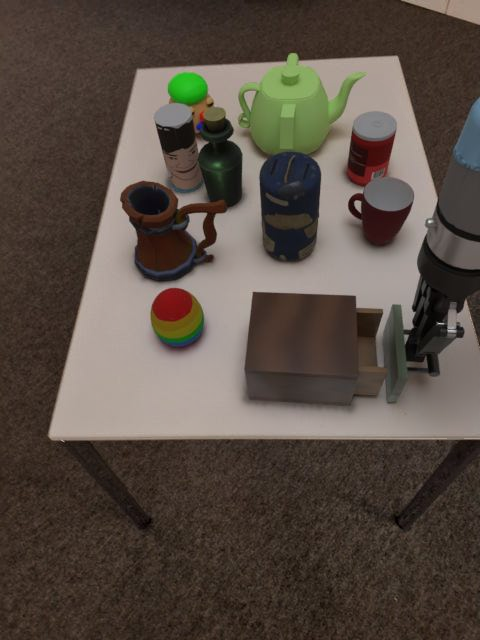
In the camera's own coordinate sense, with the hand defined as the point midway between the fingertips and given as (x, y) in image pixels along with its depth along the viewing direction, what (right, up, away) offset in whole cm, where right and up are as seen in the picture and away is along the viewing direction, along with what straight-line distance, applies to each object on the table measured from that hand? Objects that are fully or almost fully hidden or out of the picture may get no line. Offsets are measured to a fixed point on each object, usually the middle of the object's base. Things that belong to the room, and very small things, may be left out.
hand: (412, 357), depth 68 cm
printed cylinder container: (-35, +33, +30) cm, 57 cm away
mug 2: (-1, +21, +19) cm, 28 cm away
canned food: (+1, +34, +27) cm, 44 cm away
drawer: (-6, -1, +4) cm, 7 cm away
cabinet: (-15, -1, +5) cm, 16 cm away
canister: (-15, +19, +19) cm, 31 cm away
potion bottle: (-27, +29, +27) cm, 48 cm away
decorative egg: (-34, +3, +10) cm, 35 cm away
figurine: (-34, +47, +39) cm, 70 cm away
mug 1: (-34, +16, +19) cm, 42 cm away
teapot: (-12, +44, +35) cm, 58 cm away
